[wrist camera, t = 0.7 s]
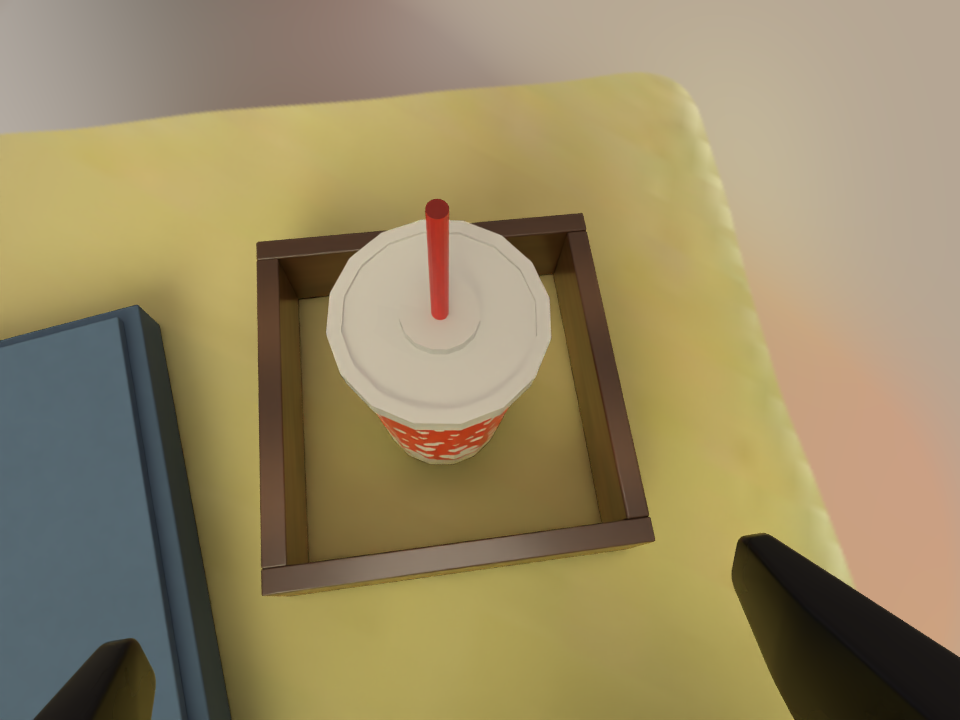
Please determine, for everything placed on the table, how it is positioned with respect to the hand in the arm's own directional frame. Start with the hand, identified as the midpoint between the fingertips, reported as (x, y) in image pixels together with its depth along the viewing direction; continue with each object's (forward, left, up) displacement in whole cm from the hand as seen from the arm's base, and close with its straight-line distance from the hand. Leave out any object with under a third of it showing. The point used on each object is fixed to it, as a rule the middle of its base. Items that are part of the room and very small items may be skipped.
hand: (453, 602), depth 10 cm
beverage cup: (+7, -2, -15) cm, 16 cm away
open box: (+7, -2, -15) cm, 16 cm away
